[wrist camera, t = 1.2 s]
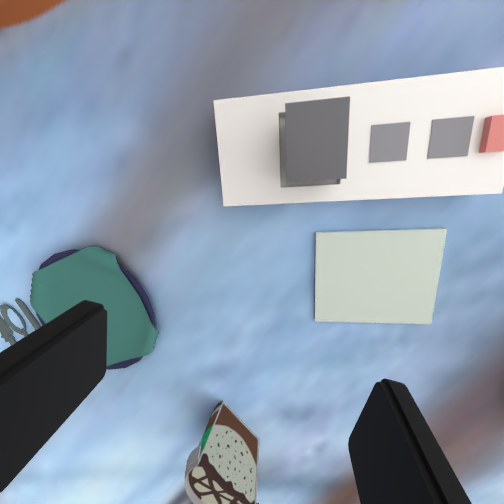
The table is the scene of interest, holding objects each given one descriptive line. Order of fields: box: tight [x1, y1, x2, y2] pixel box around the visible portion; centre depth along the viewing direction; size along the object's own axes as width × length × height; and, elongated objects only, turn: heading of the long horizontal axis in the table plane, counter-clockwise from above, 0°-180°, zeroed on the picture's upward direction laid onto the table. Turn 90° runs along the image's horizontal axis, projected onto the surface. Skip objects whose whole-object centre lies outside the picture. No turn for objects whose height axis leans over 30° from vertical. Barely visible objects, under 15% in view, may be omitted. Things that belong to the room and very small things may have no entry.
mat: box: [315, 228, 447, 324], centre depth 31 cm, size 14×12×1 cm
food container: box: [185, 401, 259, 504], centre depth 37 cm, size 12×6×10 cm, turn 40°
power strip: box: [214, 67, 504, 206], centre depth 25 cm, size 26×10×5 cm, turn 94°
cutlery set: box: [0, 246, 159, 369], centre depth 39 cm, size 20×30×2 cm, turn 114°
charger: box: [285, 96, 350, 182], centre depth 22 cm, size 4×6×8 cm
